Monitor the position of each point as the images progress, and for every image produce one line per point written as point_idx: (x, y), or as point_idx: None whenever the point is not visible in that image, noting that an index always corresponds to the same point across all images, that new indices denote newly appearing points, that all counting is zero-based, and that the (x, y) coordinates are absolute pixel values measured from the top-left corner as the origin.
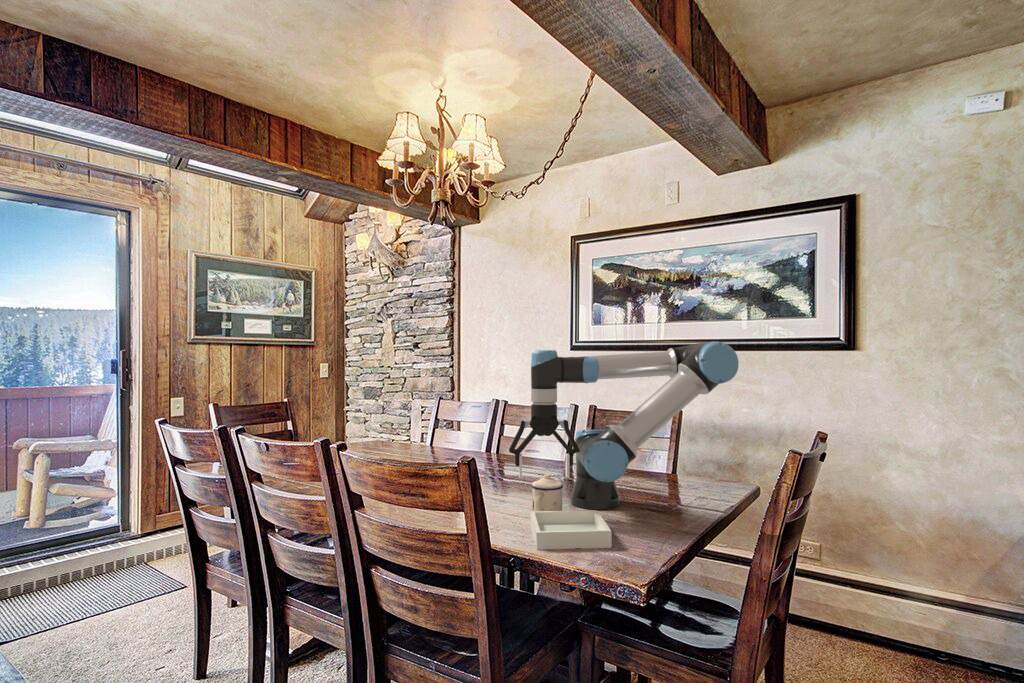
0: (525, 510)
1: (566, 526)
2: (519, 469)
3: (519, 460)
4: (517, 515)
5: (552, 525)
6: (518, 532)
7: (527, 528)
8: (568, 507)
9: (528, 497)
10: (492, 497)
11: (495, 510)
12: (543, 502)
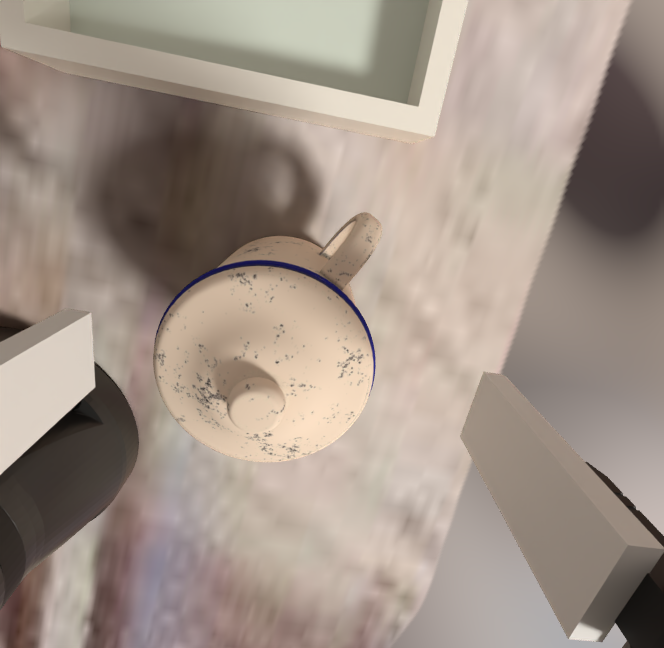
0: None
1: (247, 6)
2: (541, 425)
3: (604, 497)
4: (415, 332)
5: (320, 53)
6: (504, 55)
7: None
8: None
9: (299, 546)
10: (432, 566)
11: None
12: (318, 262)
